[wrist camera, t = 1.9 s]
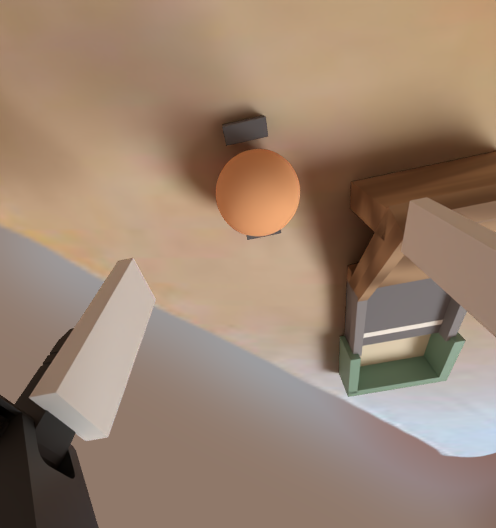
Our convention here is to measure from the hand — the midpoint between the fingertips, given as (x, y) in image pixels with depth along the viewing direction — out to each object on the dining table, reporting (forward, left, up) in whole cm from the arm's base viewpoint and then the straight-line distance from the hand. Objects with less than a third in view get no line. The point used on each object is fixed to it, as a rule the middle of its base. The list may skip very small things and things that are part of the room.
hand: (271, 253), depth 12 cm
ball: (0, 0, -7) cm, 7 cm away
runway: (+17, +14, -10) cm, 24 cm away
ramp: (+7, +14, -10) cm, 19 cm away
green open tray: (+26, +14, -10) cm, 31 cm away
